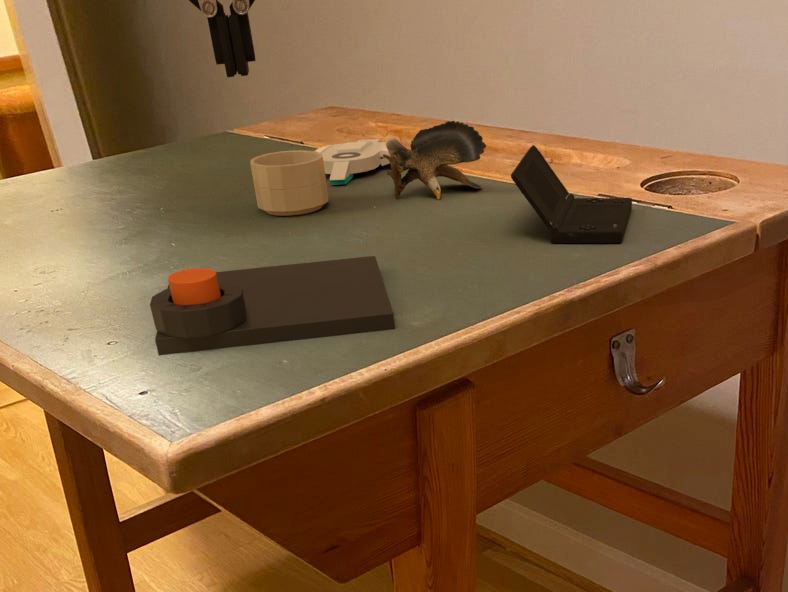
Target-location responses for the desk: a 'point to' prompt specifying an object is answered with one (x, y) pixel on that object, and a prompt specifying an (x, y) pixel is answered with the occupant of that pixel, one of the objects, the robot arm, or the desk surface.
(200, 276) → the button
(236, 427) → the desk surface
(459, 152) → the triceratops head
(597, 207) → the handheld gaming console
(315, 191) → the bowl
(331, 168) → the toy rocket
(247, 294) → the scale
